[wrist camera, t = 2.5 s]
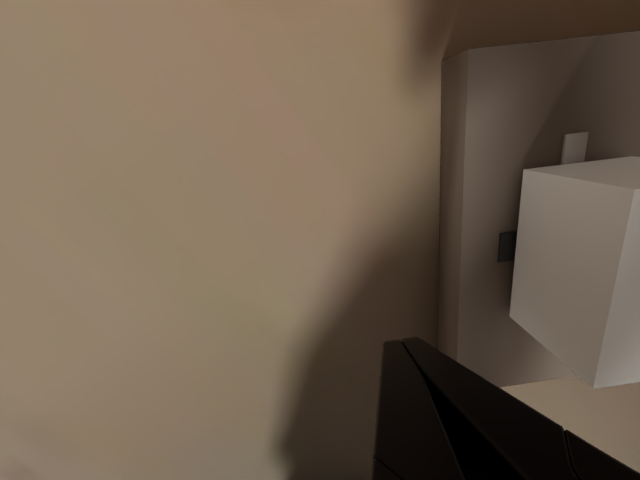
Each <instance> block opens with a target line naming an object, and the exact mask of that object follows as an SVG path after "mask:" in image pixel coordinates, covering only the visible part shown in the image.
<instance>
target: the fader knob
mask: <svg viewBox="0 0 640 480" xmlns="http://www.w3.org/2000/svg"><path fill="white" fill-rule="evenodd" d="M509 316H510V317H511V318H512V319H513V320H514V321H515V322H516V323H518V324H519V325H520V326H521V327H522V328H523V329H524V330H526V331H527V332H528V333H529V334H530V335H531V336H533V337H534V338H535V339H536V340H537V341H538V342H539V343H541V344H542V345H543V346H544V347H545V348H546V349H547V350H549V351H550V352H551V353H552V354H553V355H554V356H555V357H557V358H558V359H559V360H560V361H561V362H562V363H563V364H565V365H566V366H567V367H568V368H569V369H570V370H571V371H573V372H574V373H575V374H576V375H577V376H578V377H579V378H581V379H582V380H583V381H584V382H585V383H586V384H588V385H589V386H590V387H591V388H592V389H596V388H603V387H610V386H616V385H623V384H630V383H637V382H640V157H635V156H630V157H621V158H613V159H605V160H597V161H589V162H580V163H572V164H564V165H556V166H548V167H539V168H531V169H523V179H522V189H521V200H520V210H519V220H518V231H517V241H516V252H515V262H514V272H513V283H512V293H511V304H510V314H509Z"/></svg>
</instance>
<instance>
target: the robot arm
mask: <svg viewBox="0 0 640 480" xmlns="http://www.w3.org/2000/svg"><path fill="white" fill-rule="evenodd" d="M371 480H640V473H639V472H637V471H635V470H633V469H631V468H630V467H628V466H626V465H625V464H623V463H621V462H620V461H618V460H616V459H615V458H613V457H611V456H610V455H608V454H606V453H605V452H603V451H601V450H600V449H598V448H596V447H594V446H593V445H591V444H590V443H588V442H586V441H585V440H583V439H581V438H580V437H578V436H577V435H575V434H573V433H572V432H570V431H568V430H565V431H564V429H563V427H562V426H560V425H559V424H557V423H555V422H554V421H552V420H551V419H549V418H547V417H546V416H544V415H542V414H541V413H539V412H538V411H536V410H534V409H533V408H531V407H530V406H528V405H526V404H525V403H523V402H521V401H520V400H518V399H517V398H515V397H513V396H512V395H510V394H509V393H507V392H505V391H504V390H502V389H501V388H499V387H497V386H496V385H494V384H492V383H491V382H489V381H488V380H486V379H484V378H483V377H481V376H480V375H478V374H476V373H475V372H473V371H471V370H470V369H468V368H467V367H465V366H463V365H462V364H460V363H459V362H457V361H455V360H454V359H452V358H451V357H449V356H447V355H446V354H444V353H442V352H441V351H439V350H438V349H436V348H434V347H433V346H431V345H430V344H428V343H426V342H425V341H423V340H422V339H420V338H418V337H412V338H405V339H402V340H401V341H400V340H391V341H385V342H383V344H382V355H381V367H380V379H379V390H378V402H377V413H376V425H375V437H374V448H373V461H372V469H371Z"/></svg>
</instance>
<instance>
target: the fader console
mask: <svg viewBox="0 0 640 480" xmlns="http://www.w3.org/2000/svg"><path fill="white" fill-rule="evenodd" d="M630 156H635V157H640V31H632V32H623V33H614V34H604V35H595V36H586V37H576V38H567V39H558V40H548V41H539V42H530V43H520V44H511V45H501V46H492V47H483V48H473V49H468V50H465V51H463V52H461V53H459V54H456V55H454V56H452V57H450V58H448V59H445V60H443V61H442V82H441V156H440V229H439V303H438V350H439V351H441V352H442V353H444V354H446V355H447V356H449V357H451V358H452V359H454V360H455V361H457V362H459V363H460V364H462V365H463V366H465V367H467V368H468V369H470V370H471V371H473V372H475V373H476V374H478V375H480V376H481V377H483V378H484V379H486V380H488V381H489V382H491V383H492V384H494V385H496V386H497V387H505V386H511V385H518V384H525V383H532V382H539V381H545V380H552V379H559V378H566V377H573V376H577V375H576V374H575V373H574V372H573V371H571V370H570V369H569V368H568V367H567V366H566V365H565V364H563V363H562V362H561V361H560V360H559V359H558V358H557V357H555V356H554V355H553V354H552V353H551V352H550V351H549V350H547V349H546V348H545V347H544V346H543V345H542V344H541V343H539V342H538V341H537V340H536V339H535V338H534V337H533V336H531V335H530V334H529V333H528V332H527V331H526V330H524V329H523V328H522V327H521V326H520V325H519V324H518V323H516V322H515V321H514V320H513V319H512V318H511V317H510V316H509V314H510V304H511V293H512V283H513V272H514V262H515V252H516V241H517V231H518V220H519V210H520V200H521V189H522V179H523V169H531V168H539V167H548V166H556V165H564V164H572V163H580V162H589V161H597V160H605V159H613V158H621V157H630Z"/></svg>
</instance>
